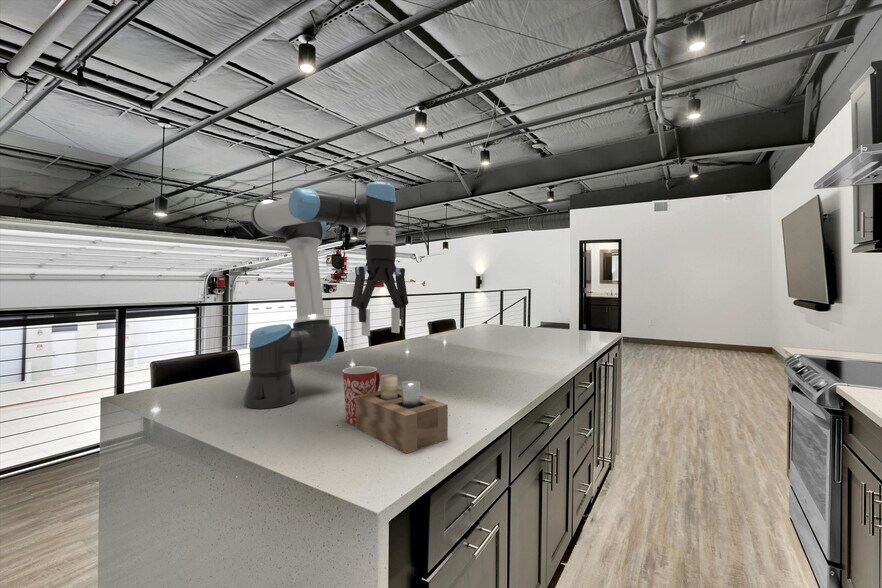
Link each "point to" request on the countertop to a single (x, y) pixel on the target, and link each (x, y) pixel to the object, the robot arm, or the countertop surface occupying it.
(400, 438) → the socket block
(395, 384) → the beech peg
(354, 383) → the mug
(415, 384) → the steel peg
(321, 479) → the countertop surface
